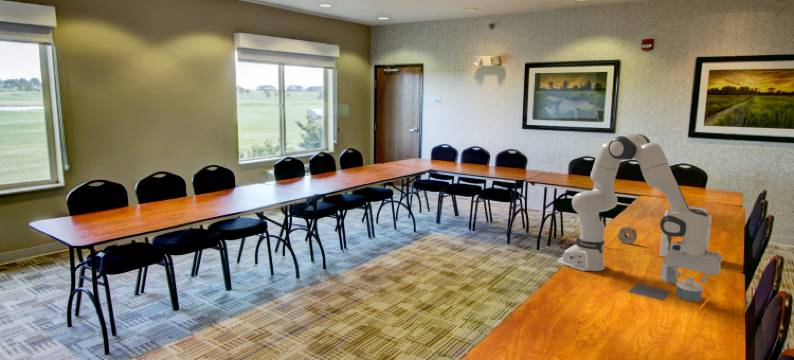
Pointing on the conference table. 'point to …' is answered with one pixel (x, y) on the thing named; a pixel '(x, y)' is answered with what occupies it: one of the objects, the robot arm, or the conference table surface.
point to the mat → (650, 291)
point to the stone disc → (624, 237)
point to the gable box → (667, 239)
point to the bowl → (688, 295)
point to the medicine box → (668, 273)
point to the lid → (689, 285)
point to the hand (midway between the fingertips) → (690, 279)
